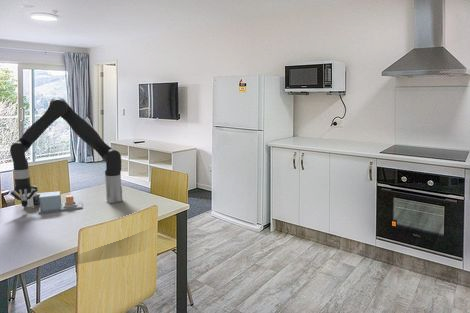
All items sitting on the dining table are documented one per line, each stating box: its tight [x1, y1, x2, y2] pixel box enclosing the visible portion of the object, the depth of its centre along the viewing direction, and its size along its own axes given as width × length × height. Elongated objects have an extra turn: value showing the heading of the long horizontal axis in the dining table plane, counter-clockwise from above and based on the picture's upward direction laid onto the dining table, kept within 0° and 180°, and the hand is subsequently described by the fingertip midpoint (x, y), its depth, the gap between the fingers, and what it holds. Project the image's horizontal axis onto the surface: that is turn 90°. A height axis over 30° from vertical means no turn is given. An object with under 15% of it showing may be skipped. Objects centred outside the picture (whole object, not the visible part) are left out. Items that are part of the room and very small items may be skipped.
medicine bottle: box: [23, 185, 41, 208], centre depth 216 cm, size 7×7×12 cm
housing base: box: [37, 201, 83, 215], centre depth 211 cm, size 23×12×2 cm, turn 115°
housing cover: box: [39, 190, 62, 211], centre depth 209 cm, size 10×10×8 cm
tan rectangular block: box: [65, 194, 75, 205], centre depth 213 cm, size 4×4×6 cm
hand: (24, 206), depth 203 cm, fingers closed
